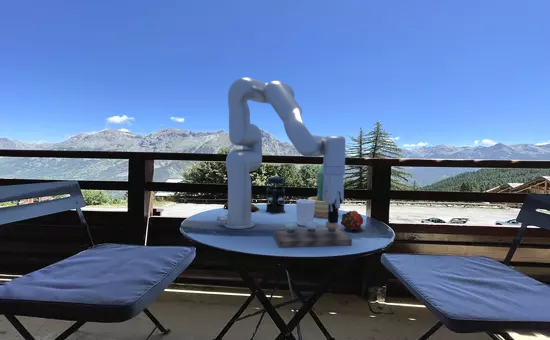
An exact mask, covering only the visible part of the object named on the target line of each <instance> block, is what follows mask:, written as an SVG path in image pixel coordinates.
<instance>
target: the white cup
mask: <svg viewBox="0 0 550 340" xmlns="http://www.w3.org/2000/svg"><path fill="white" fill-rule="evenodd" d="M295 202H296V205H295V206H296V207H295V208H296V223H297V226H301V227H305V226H306V222H314V217H315V215H314V208H315V201H313V200H308V199H298V200H296V201H295Z"/></svg>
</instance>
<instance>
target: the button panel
mask: <svg viewBox="0 0 550 340" xmlns="http://www.w3.org/2000/svg"><path fill="white" fill-rule="evenodd" d="M273 237H274V240H275V241H276V243H277V246H278V247H279V248H280V247H281V248H301V247H302V248H305V247H307V248H308V247H309V248H311V247H336V246H337V247H338V246H340V247H341V246H352V245H353V243H352V242H353V239H352V238H351V237H349V236H348V235H346V233H344V232H343V231H342V230H340V229H338V228H337V229H336V231H335V232H329V231H328V229H315V232H313V233H311V232H308V229H307V230H305V229H304V230H298V229H296V230H295V232H294V233H288V232H287V230H273Z"/></svg>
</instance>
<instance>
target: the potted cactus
mask: <svg viewBox="0 0 550 340" xmlns="http://www.w3.org/2000/svg"><path fill="white" fill-rule="evenodd" d="M323 181H324V175H323V163H322V164H320V166H319V167H318V169H317V171H316V182H317V194H316V196H310V197H308V198H307V200H313V201H315V208H314V217H318V218H328V203H327V202H325V201H324V200H323V199H322V197H323Z"/></svg>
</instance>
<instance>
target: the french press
mask: <svg viewBox="0 0 550 340" xmlns="http://www.w3.org/2000/svg"><path fill="white" fill-rule="evenodd" d="M271 168H274V170H275V171H277V170H278V168H281V166H278V165H273V166H271ZM266 179H267V183H268V184H275V186H268V187H266V200H267V202H270V203H266V210H265V212H266V213H269V214H283V213H285V203H279V202H284V201H285V198H284V197H283V198H282V197H279V193H280V192H283V195H285V193H286V192H285V189H286V188H285V187H283V186H277V185H278V184H283V183H285V182H284V181H285V177H280V176H273V177H267V178H266ZM268 192H270V193H272V195H271V197H268ZM271 202H272V203H271Z"/></svg>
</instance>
